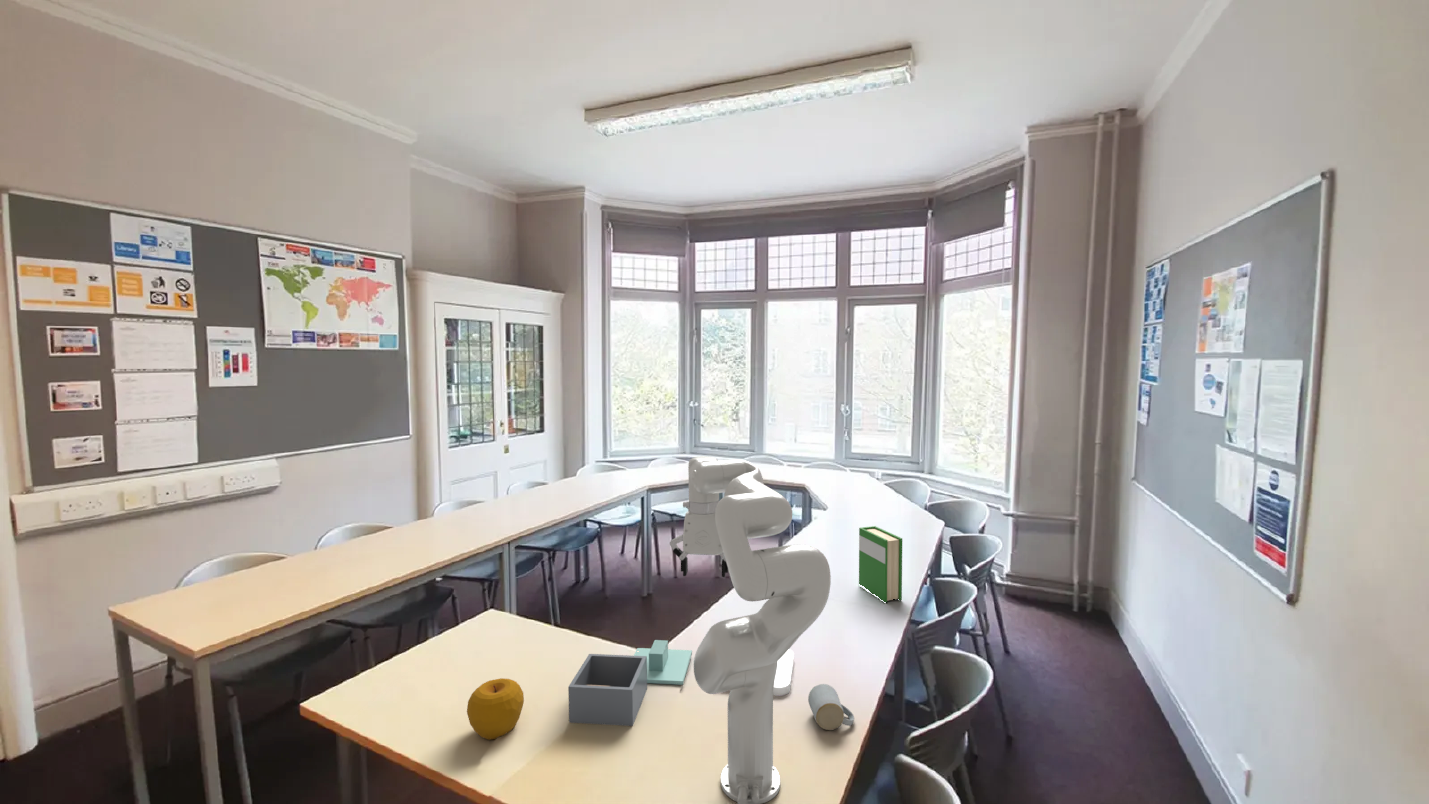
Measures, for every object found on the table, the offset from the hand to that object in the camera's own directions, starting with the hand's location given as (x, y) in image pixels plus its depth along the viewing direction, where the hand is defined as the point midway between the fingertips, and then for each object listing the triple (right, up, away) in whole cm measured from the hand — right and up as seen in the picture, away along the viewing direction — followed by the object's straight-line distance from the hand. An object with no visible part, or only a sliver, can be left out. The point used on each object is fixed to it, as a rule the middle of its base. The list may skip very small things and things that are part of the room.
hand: (704, 574), depth 138 cm
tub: (-25, -36, +5) cm, 44 cm away
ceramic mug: (+32, -37, 0) cm, 48 cm away
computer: (+14, -36, +23) cm, 45 cm away
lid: (-14, -36, +23) cm, 45 cm away
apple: (-51, -37, -3) cm, 63 cm away
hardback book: (+67, -32, +78) cm, 108 cm away
